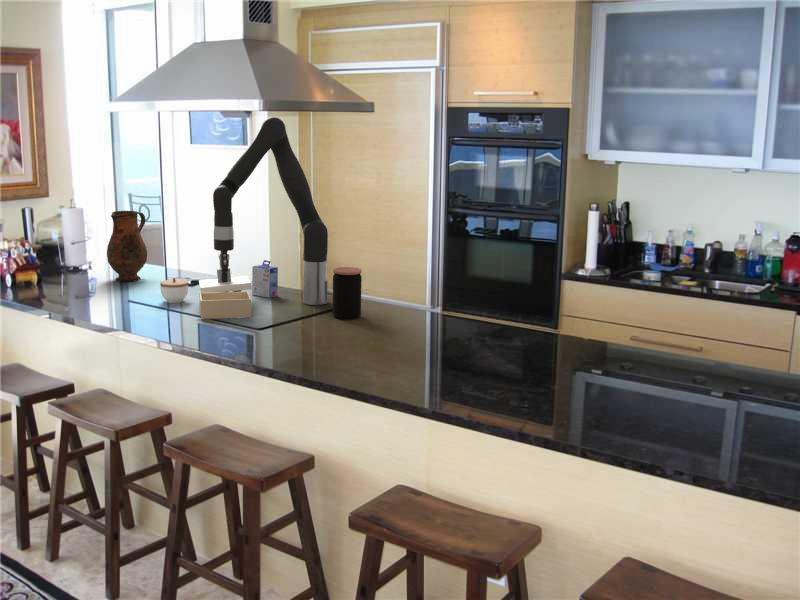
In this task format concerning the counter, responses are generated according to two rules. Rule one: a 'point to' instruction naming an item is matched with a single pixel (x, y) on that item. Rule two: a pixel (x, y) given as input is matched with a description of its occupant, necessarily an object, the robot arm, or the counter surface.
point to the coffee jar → (347, 293)
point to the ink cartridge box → (265, 280)
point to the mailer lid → (225, 283)
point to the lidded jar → (174, 290)
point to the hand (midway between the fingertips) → (224, 281)
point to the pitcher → (127, 246)
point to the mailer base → (225, 305)
